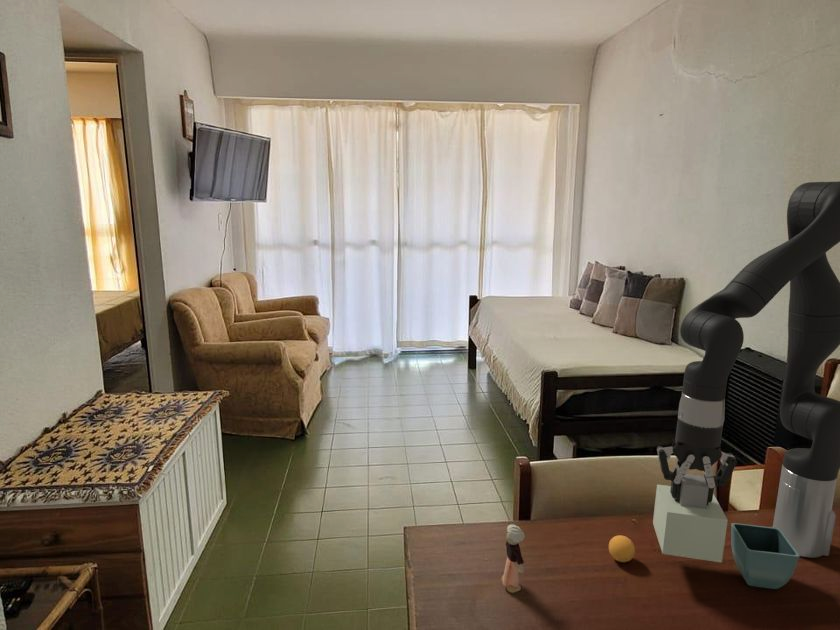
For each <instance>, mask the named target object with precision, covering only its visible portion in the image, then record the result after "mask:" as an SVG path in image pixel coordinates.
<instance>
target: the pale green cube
mask: <svg viewBox="0 0 840 630" xmlns="http://www.w3.org/2000/svg"><path fill="white" fill-rule="evenodd" d="M680 483H681V492H680V501H675V500H674V498H672V495H671V492H670V489H671V485H665V484H664V485H663V484H656V491H655V500H654V511H653V518H652V519H653V520H652V524H653V527H654V531H655V534H656V537H657V540H658V544H659V547H660V551H661V554H662V555H668V556H675V557H680V558H681V557H682V558H688V559H696V560H702V561H709V562H717V563H723V557H724V550H725V542H726V535H727V534H726V533H727V530H728V529H727V528H728V521H729V520H728V517H727V516H726V514H725V512H724V511H723V508H722V507H721V505H720V503H719V501H718V500H717V498H716V496H715V494H714V493H713V499H712V502H709V504H708V505H707V497H708V490H709V487H708V485H707V483H706V481H705V478H704V475H698V474H692V473H691V474H690V473H686V475H684V476H683V478H682V480H681V482H680Z"/></svg>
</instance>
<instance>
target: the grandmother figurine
mask: <svg viewBox="0 0 840 630" xmlns="http://www.w3.org/2000/svg"><path fill="white" fill-rule="evenodd" d="M506 532H507V533H506V537H505V538H506V542H505V548H504V549H505V551H506V555H507V557H506V559H505V560H506V561H505V566H504V571H503V575H502V576H501V579H500V580H501V582H502V585H503V586H504V587H505V588H506V590H507V591H508V593H512V594H514V593H517V592H519V591H521V590H522V587H521V585H520V581H519V578H520V577H519V574H520V575H523V574H524V573H525V569H524V567H525V566H524V565H525V560H524V559H523V556H522V551H521V547H520V542H523V540H525V534H524V531H523V530H522V529H521V528H520V526H518V525H515V524H509V525H507V527H506Z"/></svg>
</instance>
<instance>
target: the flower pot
mask: <svg viewBox="0 0 840 630" xmlns="http://www.w3.org/2000/svg"><path fill="white" fill-rule="evenodd" d="M730 527H731V528H730V530H731V531H730V537H731V540H730V541H731V542H730V544H731V550H732V556H733V558H734V561H735V564H736V566H737V568H738V570H739V572H740V574H741V576H742V577H743V579H744V581H745V583H746V585H748V586H750V587H757V588H764V589H770V590H777V589H780V588H781V587H783V586H785V585H786V584H787V583H788V582H789V581H790V580H791V578H792V576H793V575H794V572H795V570H796V568H797V565H798V562H799V559H800V557H801V556H800V555H799V554H798V552H797V551H796V550H795V549H794V547H793V546H792V545H791V543H790V542H789V540H788V539H787V538H786V536H785V535H784V534H783V532H782V531H781V530H780V529H779V528H774V527H773V526H761V525H754V524H746V523H737V522H733V523H731V522H730Z"/></svg>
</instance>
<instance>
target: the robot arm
mask: <svg viewBox="0 0 840 630" xmlns="http://www.w3.org/2000/svg"><path fill="white" fill-rule="evenodd" d="M786 225H787V239H788V240H787V241H785V242H783V243H781V244H779V245H778V246H775V247H774V248H771V249H770V250H768V251H766V252H764V253H762V254H761V255H759V256H757V257H755V258H754V259H753V260H752V261H750V262H749V263H748V264H747V265H745V266H744V267H743V268H742V269H741V270H740V271H739V272H738V273H737V274H736V275H735V276H734V277H733V278H732V279H731V280H730V282H729V283H727V284H726V286H725V287H723V289H722V290H720V291H718V292H717V293H715V294H713V295H711V296H710V297H708V298H707V299H706V300H704V301H702V302H700V303H699V304H697V306H695V307H694V308H692V309H691V310H690V311H689V312H688V313H687V314H686V315H685V316H684V318H683V320H682V322H681V323H680V329H679V330H680V331H679V334H680V337H681V339H682V340H683V342H684V343H685V344H687V345H688V346H691V347H693V348H696V349H699V350H700V351H701V350H702V351H704V356H703V359H702V360H696V361H691V362H689V363H688V364H687V365H686V366H685V369H684V374H683V382H682V391H681V397H680V400H679V403H678V412H677V422H676V429H675V439H674V441H673V443H672V444H671V446H665V447H663V446H662V445H658V446H657V447H656V451H657V458H658V462H659V465H660V470H661V473H662V475H663V478H664V479H665V480H667V481H671V482H670V486H671V489H670V492H671V495H672V498H674V500H675V501H680V492H681V483H680V482H681V480H682V478H683V476H684V475H686V474H688V471H689V470H690V471H691V470H693V471H694V470H696V471H701V472H702V474H703V478H704V479H705V481H706V483H707V485H708V487H709V490H708V497H707V505H708V504H709V502H712V499H713V494H714V491H715V488H716V487H719V486H721V487H725V486H726V485H727V483H728V481H729V480H730V477H731V476H732V474H733V472H734V469H735V468H736V466H737V464H738V460H737V458H736V457H735V456H734V454H733V453H732V452H728V453H727V452H723V451H722V450H721V443H722V435H723V428H724V422H725V419H726V418H725V416H726V415H725V413H726V412H725V410H726V406H725V405H726V404H725V403H726V392H727V385H728V378H729V377H730V376H729V375H730V373H731V371H732V370H733V367H734V364H735V363H736V361H737V358H738V356H739V355H740V353H741V350H742V347H743V344H744V339H745V337H744V330H743V327H742V325H741V323H740V322H739V321H738V319H744V318H745V319H747V318H753V317H755V316H757V315H758V314H759V313H760V312H761V311H762V310H763V309H764V308H765V307H766V306H767V305H768V304H769V303H770V302H771V301H772V300H773V299H774V298H775V296H776V295H777V294H778V293H779V292H780V291H781V290H782V289H783V288H784V287H786V285H787V284H789V302H788V317H787V334H788V335H787V337H788V338H787V352H786V353H787V354H786V366H785V373H784V374H785V376H784V381H783V386H782V393H781V400H780V408H779V417H780V422H781V424H782V426H783V427H784V428H785V429H786V430H788V431H789V432H791V433H793V434H795V435H798V436H801V437H803V438H806V439H807V440H811V441H812V445H811V447H810V448H806V447H805V448H804V447H796V448H790V449H788V450H786V451H785V452H784V455H783V458H782V465H781V470H780V476H779V477H780V479H779V485H778V492H777V498H776V505H775V510H774V511H775V512H774V515H773V516H774V517H773V524H772V527H774V528H779V529H780V530H781V531H782V532H783V534H784V535H785V536H786V538H787V539H788V540H789V542H790V543H791V545H792V546H793V547H794V549H795V550H796V551H797V552H798V554H799V555H800V557H804V558H810V559H811V558H813V559H814V558H819V557H821V556H826V557H829V555H830V550H831V545H832V539H833V533H834V527H835V521H836V517H837V516H836V513H835V511H833V503H834V498H835V493H836V488H837V480H838V475H839V471H840V401H839V400H837V399H834V398H832V397H828V396H825V395H822V394H819V393H816V390H815V383H816V382H815V381H816V376H817V373H818V370H819V368H820V367H821V366H822V364H823V363H824V362H825V361H826V360H827V359H828V358H829V357H830V356H831V355H832V354H833V353H834V352H835V351H836V349H838V348H839V346H840V280H839V279H838V277H837V276H836V273H835V271H834V270H833V269H832V267H831V264H830V262H829V259H828V257H827V252H829V250H831V249H832V248H834V247H835V246H836V245H838V244H839V243H840V181H815V182H814V181H811V182H804V183H802V184H800V185H799V186H797V187H796V188H795V189H794V190H793V191H792V193H791V195H790V197H789V200H788V203H787V210H786ZM672 454H673V455H674V456H675V457H676V459H677V460H676V462H675V465H674V468H673V469H672V471H671V470H670V466H669V463H668V460H670V459H671V455H672ZM719 460H720V463H721V464H720V466H719V469H718V470H717V472H716V474H715V475H714V473H713V468H712V467H713V465H715V464H716V463H717V462H718V461H719Z"/></svg>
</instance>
